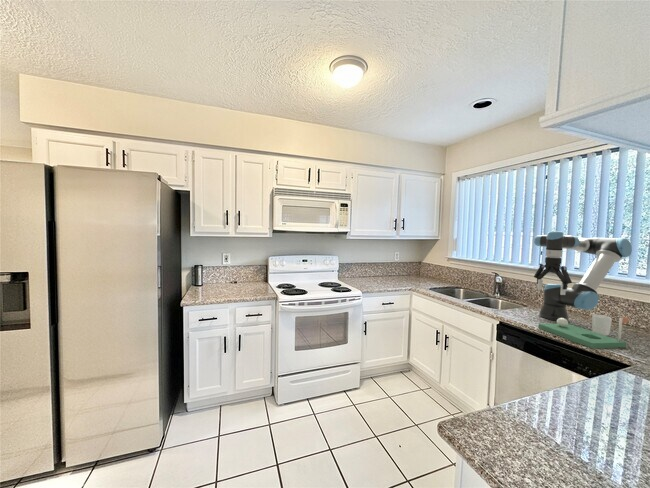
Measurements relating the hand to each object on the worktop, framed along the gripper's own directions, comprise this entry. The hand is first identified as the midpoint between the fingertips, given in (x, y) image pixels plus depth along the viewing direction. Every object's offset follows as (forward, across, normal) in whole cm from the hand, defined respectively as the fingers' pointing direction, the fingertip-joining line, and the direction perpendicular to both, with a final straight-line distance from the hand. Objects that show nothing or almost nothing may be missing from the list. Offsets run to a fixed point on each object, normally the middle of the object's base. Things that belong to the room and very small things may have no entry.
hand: (550, 292), depth 162 cm
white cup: (+21, +14, +20) cm, 32 cm away
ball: (+16, +8, 0) cm, 18 cm away
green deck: (+21, +17, 0) cm, 27 cm away
